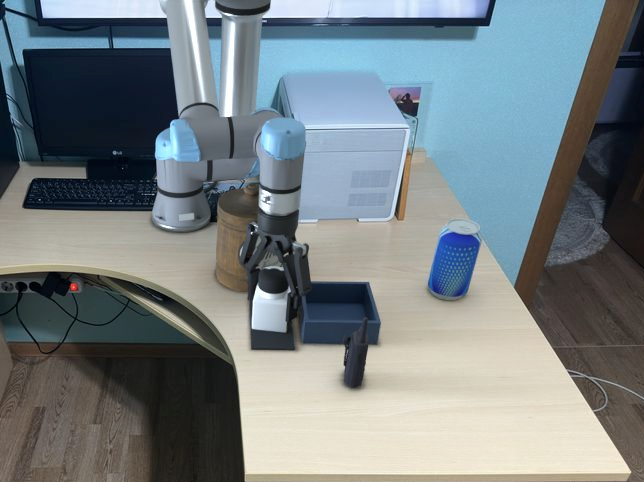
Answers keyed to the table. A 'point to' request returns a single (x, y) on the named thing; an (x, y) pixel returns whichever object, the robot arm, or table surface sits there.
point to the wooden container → (237, 236)
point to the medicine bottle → (271, 300)
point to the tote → (337, 312)
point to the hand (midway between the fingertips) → (271, 308)
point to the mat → (271, 337)
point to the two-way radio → (356, 355)
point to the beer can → (454, 259)
